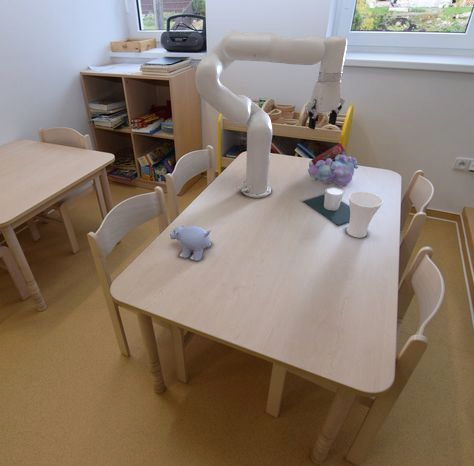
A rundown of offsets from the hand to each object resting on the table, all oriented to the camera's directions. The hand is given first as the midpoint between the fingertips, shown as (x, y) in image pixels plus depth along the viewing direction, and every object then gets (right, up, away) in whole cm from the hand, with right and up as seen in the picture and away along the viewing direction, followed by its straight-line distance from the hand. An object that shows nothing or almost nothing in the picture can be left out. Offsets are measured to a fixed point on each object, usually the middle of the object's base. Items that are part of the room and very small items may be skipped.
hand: (321, 126), depth 125 cm
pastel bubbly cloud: (+12, -16, +26) cm, 33 cm away
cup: (+9, -41, -9) cm, 43 cm away
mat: (+6, -31, +5) cm, 32 cm away
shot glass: (+6, -31, +5) cm, 31 cm away
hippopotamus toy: (-49, -46, -12) cm, 69 cm away
